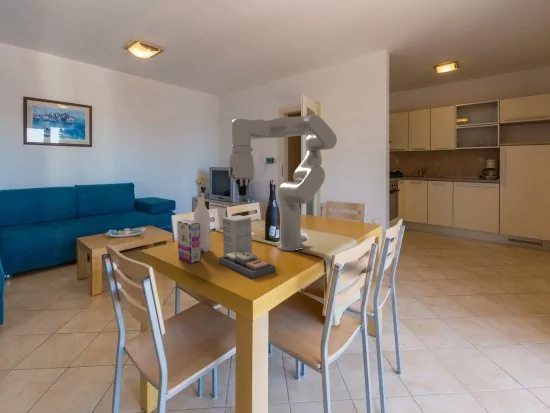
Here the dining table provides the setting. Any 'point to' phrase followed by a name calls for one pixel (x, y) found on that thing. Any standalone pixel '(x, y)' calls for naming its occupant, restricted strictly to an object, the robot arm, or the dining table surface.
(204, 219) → the water bottle
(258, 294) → the dining table surface
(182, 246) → the candy bar box
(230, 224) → the supplement box
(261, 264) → the tile
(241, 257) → the tile
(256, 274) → the gray rectangular tray
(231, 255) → the tile
